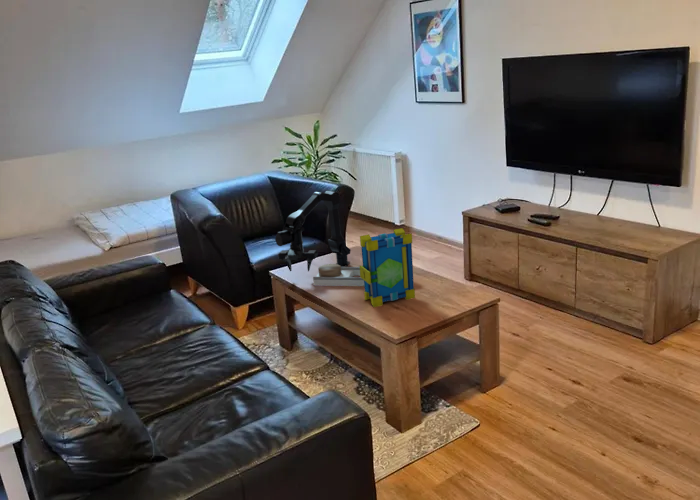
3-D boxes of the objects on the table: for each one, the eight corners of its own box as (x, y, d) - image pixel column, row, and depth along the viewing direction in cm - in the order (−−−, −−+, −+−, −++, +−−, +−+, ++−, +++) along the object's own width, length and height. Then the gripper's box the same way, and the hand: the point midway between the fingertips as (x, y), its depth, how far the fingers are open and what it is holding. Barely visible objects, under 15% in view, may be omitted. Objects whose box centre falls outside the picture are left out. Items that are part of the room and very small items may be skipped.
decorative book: (360, 299, 285) (355, 235, 276) (407, 288, 293) (403, 226, 283) (373, 310, 272) (368, 243, 263) (421, 299, 280) (418, 234, 271)
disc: (322, 270, 317) (321, 263, 316) (343, 270, 314) (343, 263, 313) (316, 278, 306) (315, 271, 305) (338, 278, 304) (337, 271, 303)
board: (322, 274, 320) (321, 264, 318) (382, 275, 312) (381, 264, 311) (313, 285, 306) (312, 275, 304) (377, 286, 298) (376, 275, 297)
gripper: (272, 246, 303) (276, 276, 308) (310, 246, 299) (313, 277, 304) (280, 239, 314) (283, 268, 318) (316, 238, 309) (319, 269, 314)
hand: (299, 271), depth 313 cm, fingers open, 9 cm apart
